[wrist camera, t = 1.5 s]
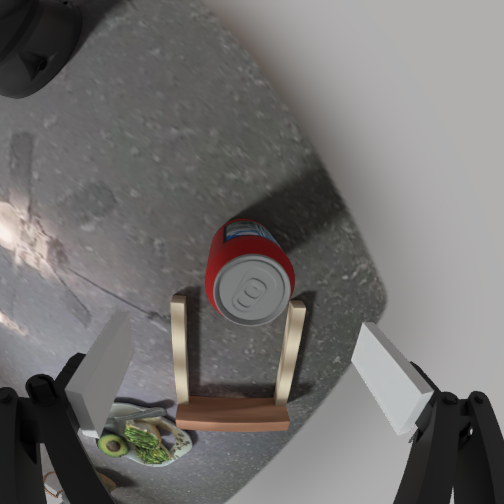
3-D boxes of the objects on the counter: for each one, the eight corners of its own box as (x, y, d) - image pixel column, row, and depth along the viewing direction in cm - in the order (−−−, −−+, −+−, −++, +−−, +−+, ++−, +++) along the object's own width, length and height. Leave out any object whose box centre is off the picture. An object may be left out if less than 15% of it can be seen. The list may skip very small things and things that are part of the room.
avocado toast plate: (120, 372, 35) (111, 392, 30) (217, 428, 39) (217, 450, 35) (78, 421, 37) (71, 438, 33) (157, 465, 42) (155, 483, 37)
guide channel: (173, 294, 32) (165, 315, 27) (301, 300, 33) (313, 320, 28) (180, 403, 36) (176, 428, 32) (281, 406, 38) (287, 429, 33)
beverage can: (285, 240, 31) (319, 280, 20) (248, 288, 32) (261, 349, 21) (235, 204, 30) (241, 224, 18) (198, 255, 31) (184, 303, 19)
